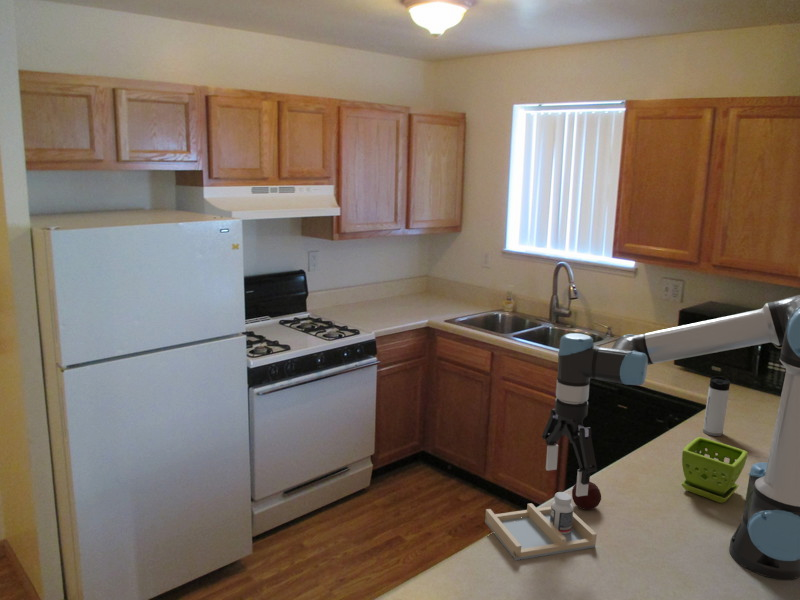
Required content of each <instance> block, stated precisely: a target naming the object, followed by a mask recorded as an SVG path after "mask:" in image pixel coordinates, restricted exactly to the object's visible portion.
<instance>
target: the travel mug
mask: <svg viewBox="0 0 800 600" xmlns="http://www.w3.org/2000/svg"><path fill="white" fill-rule="evenodd" d="M730 385H731V381H730V379H728V378H726V377H725V376H723V375H722V376H720V375H718V376H712V377H710V379H709V386H708V390H707V398H706V406H705V413H704V420H703V426H702V427H703V428H702V431H703V433H704V434H706V435H708V436H711V437H721V436H723V434H724V426H725V422H726V421H725V420H726V414H727V408H728V399H729V393H730Z"/></svg>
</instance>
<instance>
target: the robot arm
mask: <svg viewBox="0 0 800 600" xmlns="http://www.w3.org/2000/svg"><path fill="white" fill-rule="evenodd" d="M768 343H772V344H774V345H776V346H781V350H780V357H779V362H780V363H781V364H782V365H783V366H784V368H785V375H784V379H783V380H784V381H783V385H782V390H781V395H780V398H779V405H778V411H777V414H776V415H777V416H776V420H775V424H774V429H773V434H772V438H771V439H772V440H771V444H770V448H769V449H770V450H769V455H768V459H767V461H766V462H765V461H764V462H763V461H761V462H756V463H754V464H752V465H751V468H750V470H749V473H748V476H749V477H748V483H747V490H746V494H745V496H746V497H745V501H744V507H743V515H742V520H741V522H740V523H739V525H738V527H737V529H735V531H734V533H733V535H732V536H731V538H730V540H729V547H728V551H729V554H730V556H731V558H733V560H734V561H736V562H737V563H738V564H739V565H741V566H743V568H745V569H747V570H749V571H751V572H753V573H755V574H757V575H758V574H759V575H760V576H764V577H766V578H771V579H776V580H794V579H798V578H799V577H800V294H797V295H793V296H790V297H785V298H782V299H779V300H775V301H769V302H766V303H765V304H764V305H763V307H762V308H759V309H755V310H754V309H753V310H750V311H745V312H744V311H743V312H740V313H736V314H731V315H727V316H721V317H717V318H713V319H707V320H702V321H698V322H697V321H696V322H693V323H689V324H682V325H679V326H674V327H669V328H665V329H660V330H655V331H651V332H646V333H642V334H641V333H640V334H631V333H629V334H624V335H622V336H620V337H619V338H618V339H616V340H615V342H614V343H613V345H612V347H603V346H602V347H601V346H597V345H595V343H594V338H593V337H592V336H590V335H588V334H585V333H584V334H583V333H576V332H575V333H566V334H564V335H562V336H561V337H560V340H559V348H558V349H559V351H558V353H557V355H558V358H557V376H556V377H557V378H556V387H555V396H556V398H555V402H554V408H552V409H551V410H550V416H549V418H548V420H547V422H546V425H545V427H544V430H543V432H542V434H541V438H542V439H543V440H545V444H546V459H545V470H546V471H556V470H557V468H558V458H559V457H558V456H559V455H558V454H559V445H558V444H559V440H561V438H562V437H563V436H566V438H567V439H568V441H569V442H570V444H572V447H573V450H574V453H575V457H576V459H577V463H578V466H579V469H577V472H576V473H577V475H576V484H577V485H576V484H575V485H576V496H577V497H579V496H586V495H588V484H589V482H591V481H590V479H591V473H593V472H597V471H598V465H597V461H596V456H595V450H594V445H593V439H592V428H591V427H589V426H587V427H585V426H584V424H583V422H584V419H585V418H587V416H588V413H589V412H588V411H589V410H588V409H589V401H588V400H589V395H590V383H591V379H594V380H600V381H607V382H613V383H618V384H624V385H625V386H626V385H627V386H629V385H631V386H642V385H644V384H645V381H646V378H647V371H648V366H650V365H655V364H658V363H659V364H660V363H665V362H670V361H676V360H682V359H687V358H693V357H698V356H703V355H708V354H709V355H710V354H713V353H719V352H725V351H730V350H736V349H742V348H746V347H751V346H758V345H763V344H768Z"/></svg>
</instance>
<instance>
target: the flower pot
mask: <svg viewBox="0 0 800 600" xmlns="http://www.w3.org/2000/svg"><path fill="white" fill-rule="evenodd" d="M681 453H682V454H681V457H682V458H681V461H682V462H681V463H682V466H681V467H682V472H683V475H684V480H683V481H682V482H681V486H682V488H683V489H684V490H685V491H687V492H688V493H693V494H696V495H698V496H700V497H703V498H707V499H709V500H712V501H714V502H717V503H719V504H723V503H725V502H726V501H727V500H728V499H729V498H730V497H731V496H732V495H733V494H734V493H735V491H736V490H737V489H738V487H739V484H738V483H736V482H737V480H738V479H739V477H740V475H741V473H742V471H743V469H744V468H745V465H746V461H747V458H748V454H749V453H748V451H746V450H744V449H741V448H738V447H735V446H733V445H729V444H725V443H722V442H720V441H716V440H712V439H709V438H705V437H703V436H702V437H701V436H698V437H696V438H695V439H693V440H691V442H689V443H688V444H687V445H686V446H685V447H684V448H683V450H682V452H681ZM716 454H717V455H716ZM705 455H707V456H705ZM708 456H709V457H708ZM725 458H727V459H729V462H725Z"/></svg>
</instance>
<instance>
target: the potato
mask: <svg viewBox="0 0 800 600" xmlns="http://www.w3.org/2000/svg"><path fill="white" fill-rule="evenodd" d="M576 485H577V483H575V484H574V486H573V487H572V490H571V499H572V501H573V503H574V504H575V506H577V507H578V508H580V509H582V510H587V511H590V510H594V509H596V508H597V507H598V506H599V505H600V503H601V501H602V494H601V490H600V488H599V486H597V484H596V483H593V482H591V481H589V484H588V495H586V496H579V497H577V496H576Z"/></svg>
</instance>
